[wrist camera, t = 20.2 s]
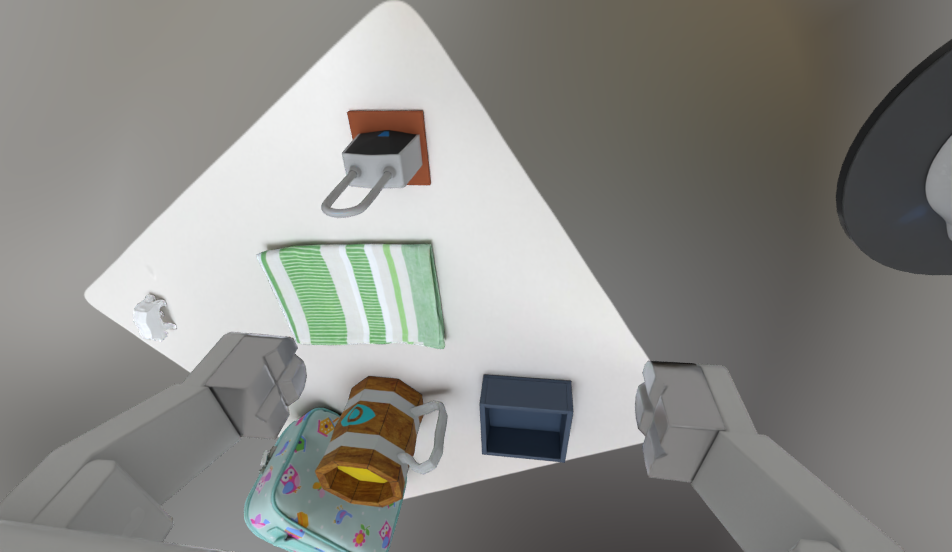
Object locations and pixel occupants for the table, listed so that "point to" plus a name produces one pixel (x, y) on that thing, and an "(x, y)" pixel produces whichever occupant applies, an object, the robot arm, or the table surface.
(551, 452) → the basket
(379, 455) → the mug
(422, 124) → the mat
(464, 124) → the table surface
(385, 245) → the dish towel
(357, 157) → the padlock
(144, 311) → the figurine
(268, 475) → the lunch box
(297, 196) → the table surface
